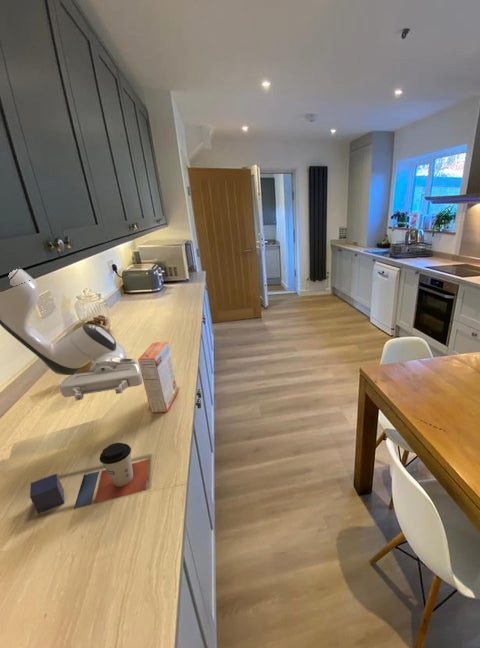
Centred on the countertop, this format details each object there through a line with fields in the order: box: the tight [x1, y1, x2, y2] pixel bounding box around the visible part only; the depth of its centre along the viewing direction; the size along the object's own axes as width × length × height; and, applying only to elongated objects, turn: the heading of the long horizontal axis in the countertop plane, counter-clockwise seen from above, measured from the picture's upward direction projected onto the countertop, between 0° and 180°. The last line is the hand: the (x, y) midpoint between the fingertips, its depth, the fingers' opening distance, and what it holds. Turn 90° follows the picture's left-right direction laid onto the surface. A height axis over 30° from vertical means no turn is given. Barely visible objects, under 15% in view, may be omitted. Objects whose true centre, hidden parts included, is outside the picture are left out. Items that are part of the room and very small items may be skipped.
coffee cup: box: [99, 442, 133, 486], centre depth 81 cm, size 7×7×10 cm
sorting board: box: [73, 458, 151, 510], centre depth 81 cm, size 24×12×1 cm, turn 111°
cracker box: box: [137, 341, 179, 414], centre depth 113 cm, size 14×6×21 cm, turn 3°
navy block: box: [29, 473, 65, 515], centre depth 75 cm, size 5×5×6 cm
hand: (98, 394), depth 86 cm, fingers open, 8 cm apart
